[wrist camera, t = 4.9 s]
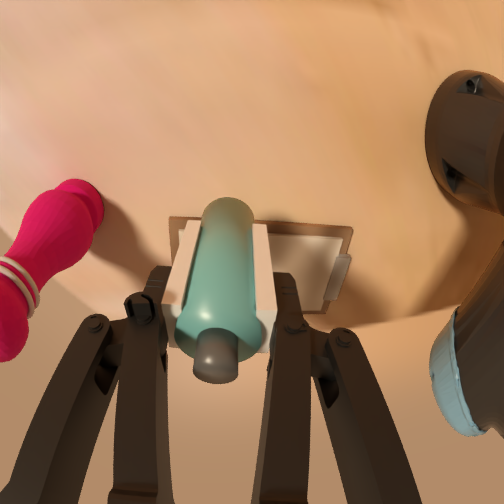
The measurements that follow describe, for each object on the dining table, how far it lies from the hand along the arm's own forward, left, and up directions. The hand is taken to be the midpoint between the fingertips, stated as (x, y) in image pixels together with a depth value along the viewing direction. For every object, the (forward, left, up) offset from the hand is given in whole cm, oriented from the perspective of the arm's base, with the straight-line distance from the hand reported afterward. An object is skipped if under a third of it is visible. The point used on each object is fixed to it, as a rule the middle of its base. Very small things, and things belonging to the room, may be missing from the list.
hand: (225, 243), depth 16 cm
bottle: (0, 0, -3) cm, 3 cm away
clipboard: (-3, +10, -10) cm, 15 cm away
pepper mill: (+16, +3, -11) cm, 19 cm away
